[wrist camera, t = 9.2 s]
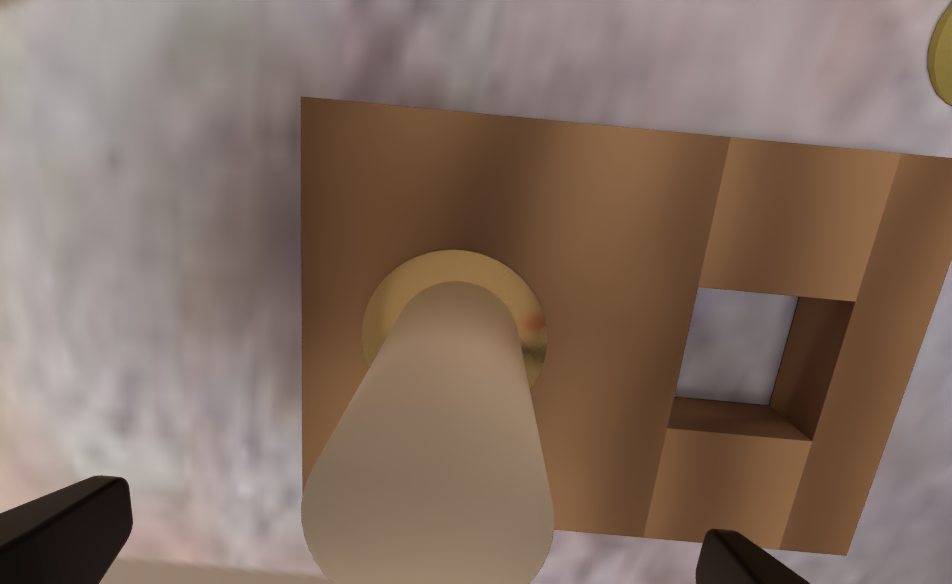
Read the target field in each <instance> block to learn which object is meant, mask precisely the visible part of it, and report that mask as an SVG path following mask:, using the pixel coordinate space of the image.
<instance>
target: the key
mask: <svg viewBox="0 0 952 584" xmlns="http://www.w3.org/2000/svg"><path fill="white" fill-rule="evenodd" d="M928 70H929V74H930V79H931V82H932V84H933V86H934V88H935V91H936V93H937V95H939V96H940V97H941V98H942V99H943V100H944V101H945V102H946V103H948V104H950V105H952V3H951V5H950V6H949V7H948V9H947V10H946V12H945V13H944V14H943V16H942V17H941V19H940V20H939V21H938V24H937V26H936V28H935V31H934V33H933V36H932V38H931V43H930V47H929V51H928Z"/></svg>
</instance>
